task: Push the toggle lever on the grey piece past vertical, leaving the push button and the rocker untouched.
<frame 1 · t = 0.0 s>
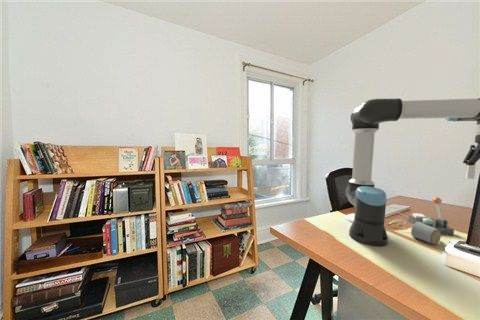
toggle lever: (439, 210, 101), point 10 cm above the table, hinge at -15.0°
rocker: (419, 216, 110), point 4 cm above the table, hinge at 12.0°
push button: (427, 221, 102), point 4 cm above the table, slide at 0.0 cm
grey piece: (429, 227, 106), on the table
grey cylinder: (426, 240, 91), on the table
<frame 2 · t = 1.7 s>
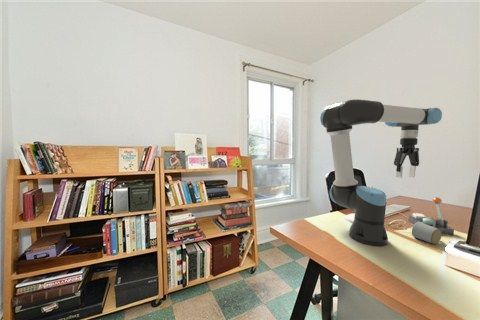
hand: (405, 177, 113), 25 cm above the table, tool pointing down, fingers open, 9 cm apart
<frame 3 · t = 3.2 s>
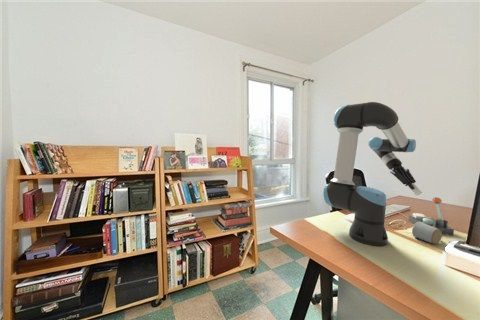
hand: (419, 194, 110), 17 cm above the table, tool tilted 45°, fingers closed
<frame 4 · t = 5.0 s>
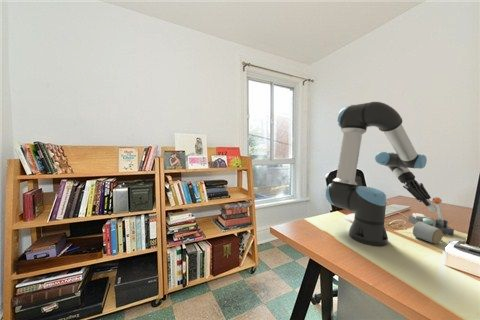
hand: (434, 211, 103), 9 cm above the table, tool tilted 45°, fingers closed
toggle lever: (439, 210, 101), point 10 cm above the table, hinge at -14.8°, touching gripper
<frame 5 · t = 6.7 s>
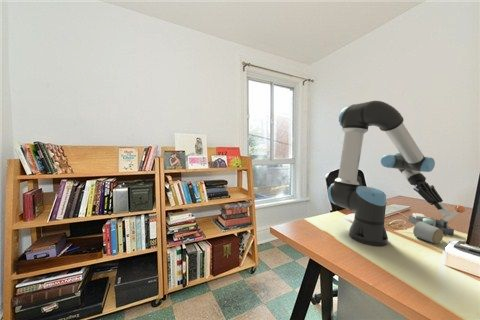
hand: (447, 215, 98), 9 cm above the table, tool tilted 45°, fingers closed
toggle lever: (451, 215, 97), point 10 cm above the table, hinge at 33.7°, touching gripper
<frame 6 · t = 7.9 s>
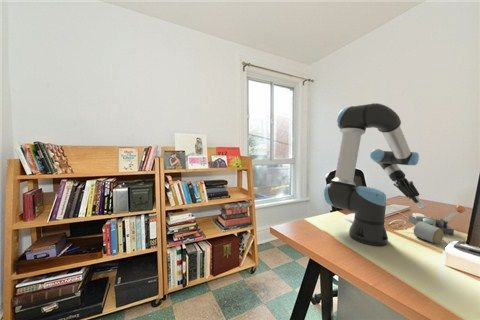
hand: (422, 207, 108), 10 cm above the table, tool tilted 45°, fingers closed
toggle lever: (451, 215, 97), point 10 cm above the table, hinge at 33.7°
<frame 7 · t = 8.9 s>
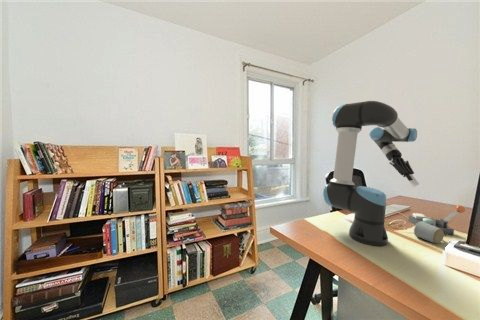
hand: (416, 185, 110), 21 cm above the table, tool tilted 40°, fingers closed
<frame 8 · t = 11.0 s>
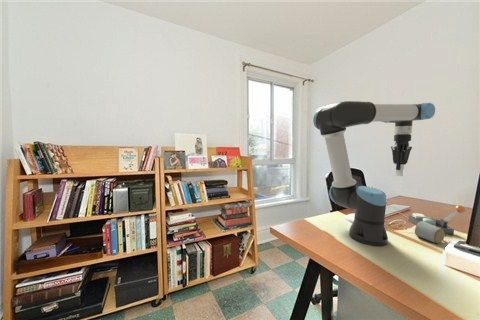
hand: (399, 175, 113), 26 cm above the table, tool pointing down, fingers closed
at the end: toggle lever at +34° (first picture: -15°); push button slide at 0.0 cm; rocker at +12° (first picture: +12°) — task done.
